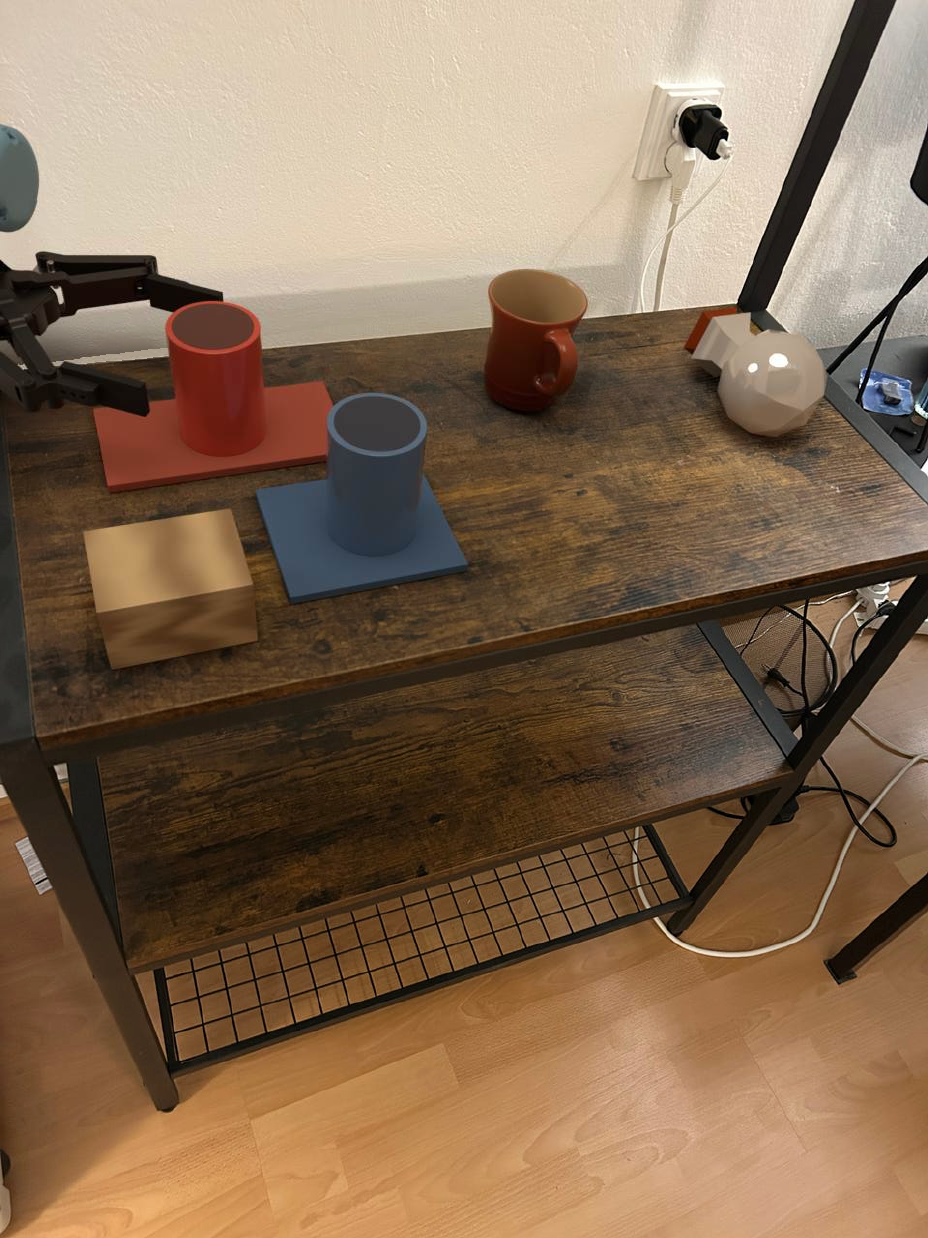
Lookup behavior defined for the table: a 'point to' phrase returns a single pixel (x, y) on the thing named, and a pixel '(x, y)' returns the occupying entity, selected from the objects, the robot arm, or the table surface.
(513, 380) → the mug
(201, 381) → the red cup
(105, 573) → the wooden block
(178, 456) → the red mat
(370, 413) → the blue cup
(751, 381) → the potion bottle
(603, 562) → the table surface
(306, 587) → the blue mat
